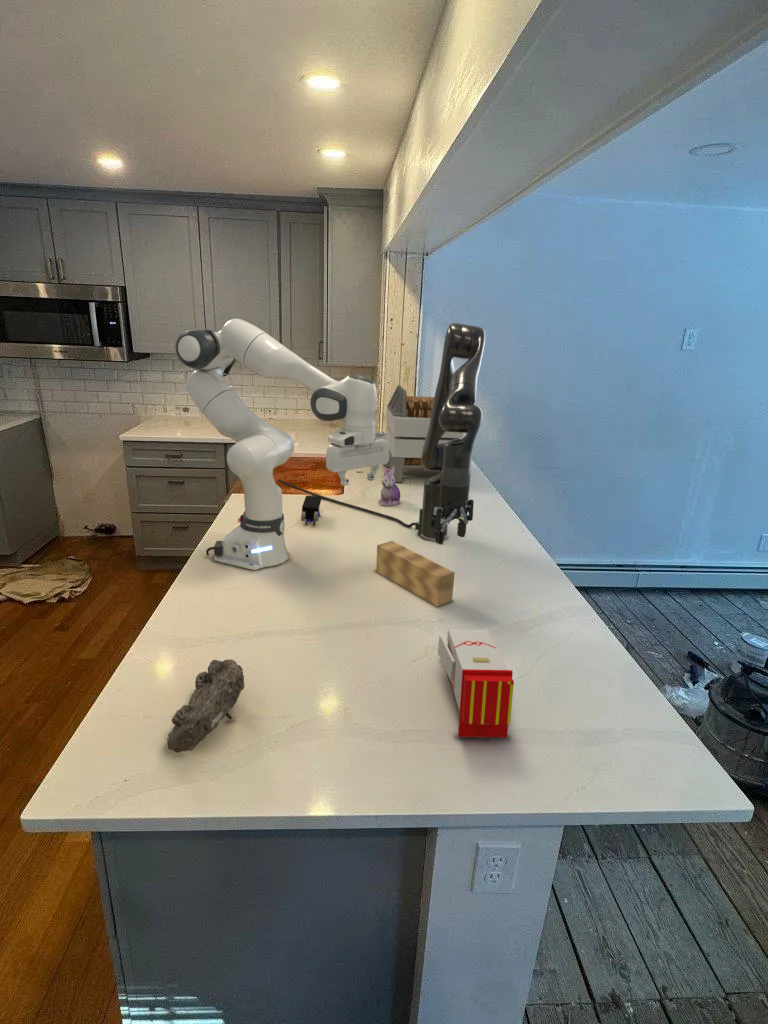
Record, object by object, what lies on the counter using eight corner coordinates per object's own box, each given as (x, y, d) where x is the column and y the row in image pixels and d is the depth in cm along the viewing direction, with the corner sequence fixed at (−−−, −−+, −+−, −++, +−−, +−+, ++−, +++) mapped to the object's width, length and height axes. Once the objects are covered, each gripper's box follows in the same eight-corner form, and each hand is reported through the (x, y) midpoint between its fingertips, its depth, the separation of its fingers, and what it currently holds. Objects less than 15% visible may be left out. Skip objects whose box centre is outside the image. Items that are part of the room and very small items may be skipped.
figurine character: (319, 531, 202) (322, 512, 216) (318, 512, 199) (322, 494, 212) (300, 530, 202) (304, 511, 216) (299, 511, 199) (304, 493, 212)
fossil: (192, 660, 117) (244, 628, 112) (224, 691, 120) (276, 661, 115) (142, 746, 98) (202, 712, 93) (182, 779, 101) (242, 748, 96)
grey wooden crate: (382, 463, 289) (386, 382, 275) (445, 464, 293) (451, 384, 279) (390, 482, 257) (394, 392, 243) (460, 483, 261) (468, 394, 247)
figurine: (385, 507, 225) (387, 471, 220) (373, 500, 233) (375, 464, 228) (406, 505, 229) (408, 469, 224) (394, 497, 237) (395, 462, 232)
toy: (488, 613, 130) (523, 677, 101) (484, 667, 133) (517, 744, 104) (435, 612, 130) (455, 676, 101) (432, 666, 133) (451, 743, 103)
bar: (452, 600, 156) (454, 572, 153) (437, 606, 152) (439, 577, 149) (390, 566, 174) (391, 540, 171) (376, 571, 171) (377, 544, 168)
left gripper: (381, 429, 166) (379, 474, 171) (322, 436, 154) (322, 485, 158) (395, 433, 162) (392, 479, 166) (336, 441, 149) (335, 491, 154)
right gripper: (462, 474, 153) (457, 530, 159) (425, 482, 144) (421, 541, 150) (484, 481, 148) (478, 538, 154) (447, 489, 139) (442, 550, 145)
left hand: (358, 482), depth 162 cm, fingers open, 8 cm apart
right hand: (450, 540), depth 152 cm, fingers open, 8 cm apart
